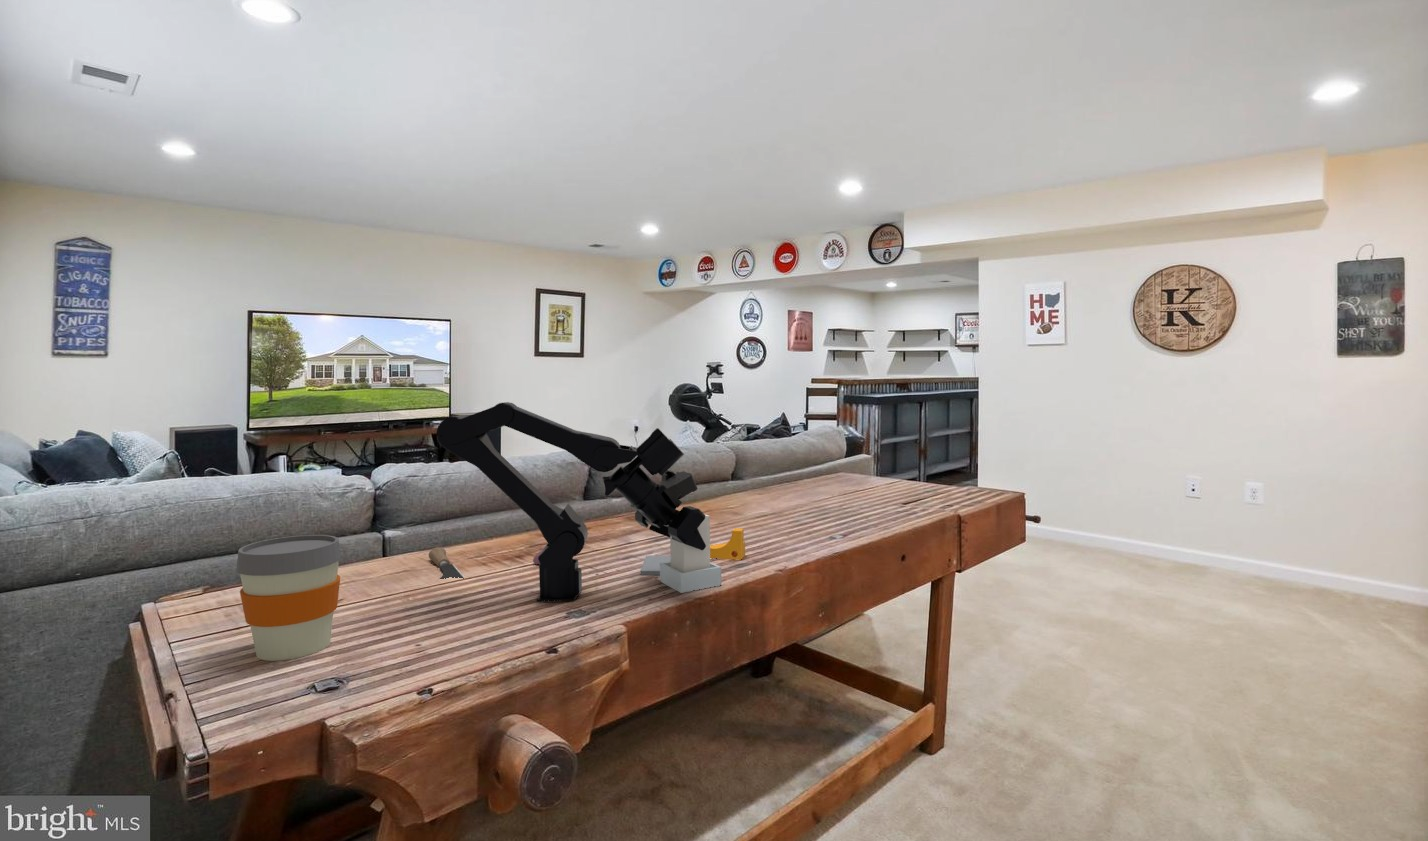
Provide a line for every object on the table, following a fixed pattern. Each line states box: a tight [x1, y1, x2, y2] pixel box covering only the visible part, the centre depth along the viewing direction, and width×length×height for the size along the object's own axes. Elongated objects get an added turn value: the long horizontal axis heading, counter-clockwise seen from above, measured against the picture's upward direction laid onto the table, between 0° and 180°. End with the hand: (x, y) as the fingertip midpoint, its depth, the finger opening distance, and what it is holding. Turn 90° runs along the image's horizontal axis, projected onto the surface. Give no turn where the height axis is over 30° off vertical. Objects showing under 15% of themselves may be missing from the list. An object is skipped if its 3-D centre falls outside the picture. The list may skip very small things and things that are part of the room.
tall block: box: [669, 513, 711, 573], centre depth 123 cm, size 6×6×13 cm
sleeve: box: [659, 561, 722, 594], centre depth 123 cm, size 8×8×4 cm
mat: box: [639, 554, 671, 576], centre depth 135 cm, size 12×12×1 cm
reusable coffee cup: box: [236, 534, 342, 662], centre depth 94 cm, size 13×13×15 cm
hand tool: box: [428, 546, 465, 579], centre depth 132 cm, size 6×3×25 cm
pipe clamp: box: [710, 527, 746, 561], centre depth 143 cm, size 12×4×6 cm, turn 76°
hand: (696, 545), depth 124 cm, fingers closed on tall block, 5 cm apart
